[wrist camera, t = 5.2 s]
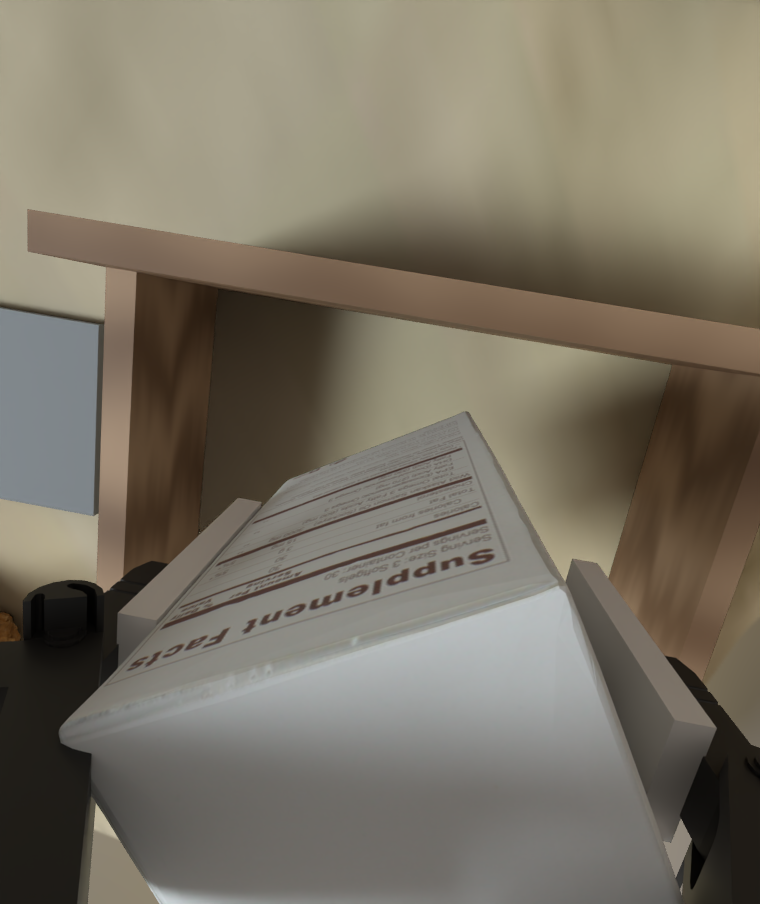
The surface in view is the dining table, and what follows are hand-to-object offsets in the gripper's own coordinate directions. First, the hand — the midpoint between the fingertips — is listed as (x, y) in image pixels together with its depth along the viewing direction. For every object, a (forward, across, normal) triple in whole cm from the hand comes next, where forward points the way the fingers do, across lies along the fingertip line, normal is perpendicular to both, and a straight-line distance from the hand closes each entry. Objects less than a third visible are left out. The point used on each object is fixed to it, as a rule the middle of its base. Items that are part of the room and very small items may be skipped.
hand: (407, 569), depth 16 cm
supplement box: (+3, 0, 0) cm, 3 cm away
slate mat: (+13, -23, -1) cm, 27 cm away
